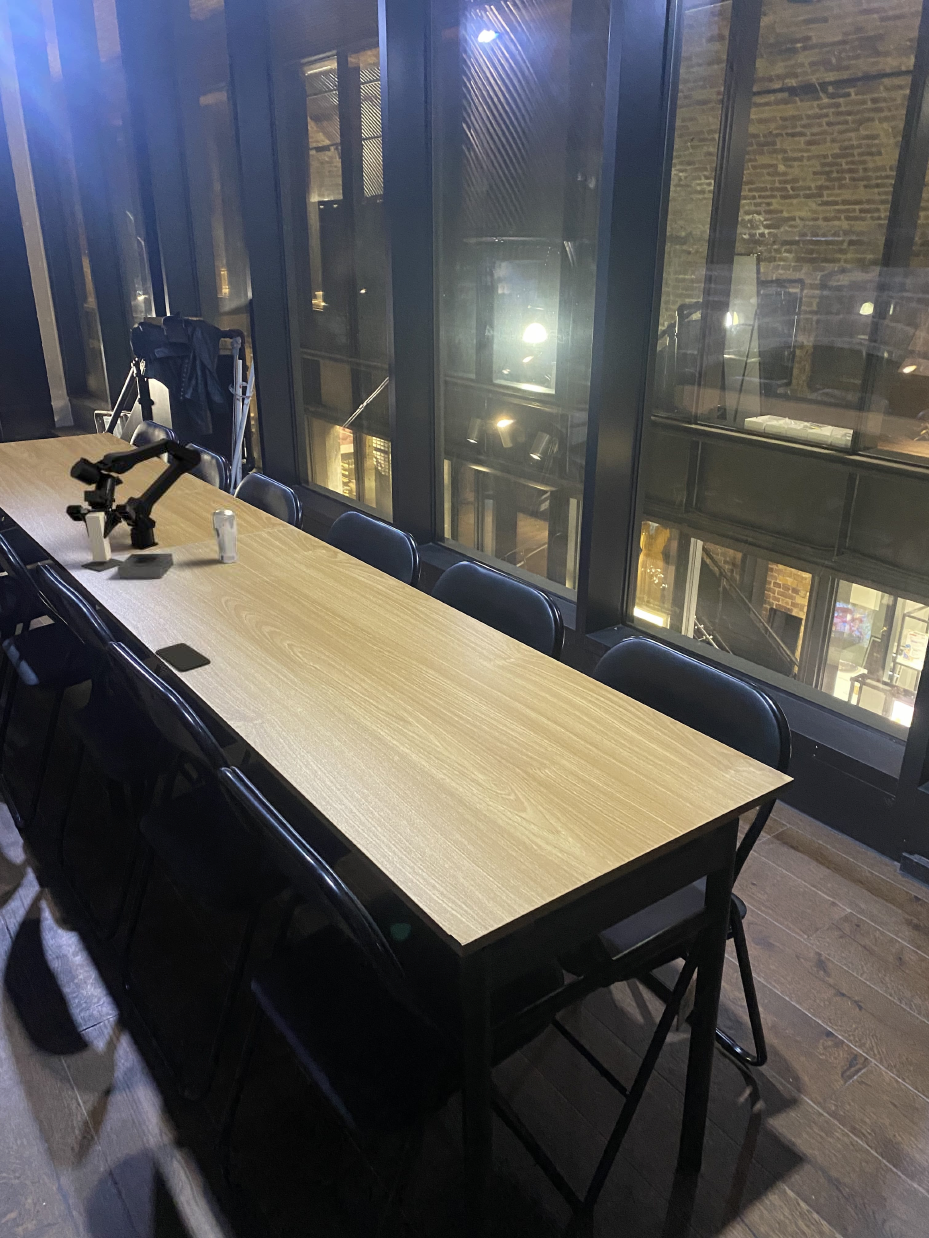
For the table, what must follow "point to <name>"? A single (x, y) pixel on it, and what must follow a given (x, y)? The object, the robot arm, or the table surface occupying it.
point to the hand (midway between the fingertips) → (97, 538)
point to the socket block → (145, 566)
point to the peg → (98, 536)
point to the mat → (102, 564)
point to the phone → (183, 657)
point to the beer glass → (225, 535)
